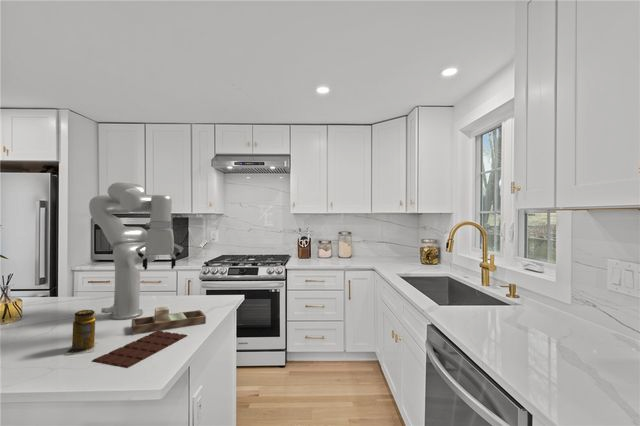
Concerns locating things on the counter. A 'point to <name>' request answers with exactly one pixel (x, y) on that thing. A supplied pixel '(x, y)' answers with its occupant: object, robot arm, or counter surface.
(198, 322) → the box
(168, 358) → the counter surface
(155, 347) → the chocolate bar
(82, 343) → the condiment
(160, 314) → the block
